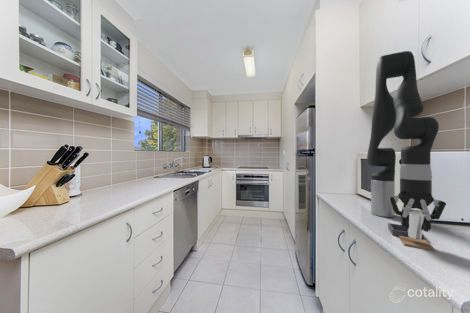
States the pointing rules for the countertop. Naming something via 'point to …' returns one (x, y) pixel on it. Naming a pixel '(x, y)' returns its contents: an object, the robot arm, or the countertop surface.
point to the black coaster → (398, 228)
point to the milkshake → (415, 223)
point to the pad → (416, 243)
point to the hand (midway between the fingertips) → (415, 229)
